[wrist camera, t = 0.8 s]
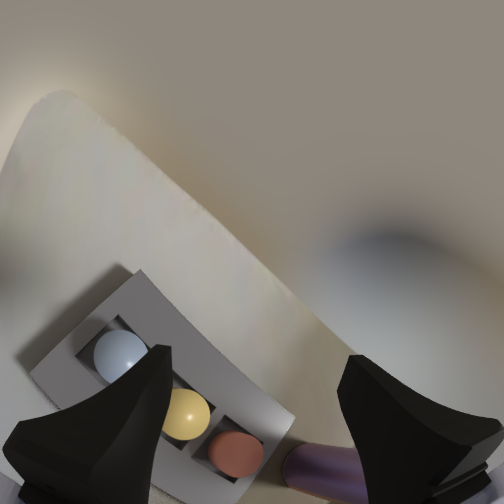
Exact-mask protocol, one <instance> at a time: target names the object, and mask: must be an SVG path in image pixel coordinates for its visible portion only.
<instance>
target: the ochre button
mask: <svg viewBox="0 0 504 504" xmlns="http://www.w3.org/2000/svg"><path fill="white" fill-rule="evenodd" d="M209 420H210V410H209V407H208V404H207V402H206V401H205V399H204V398H203V397H202V396H201V395H199V394H198V393H196V392H194V391H192V390H188V389H182V388H175V387H173V389H172V394H171V400H170V405H169V409H168V412H167V415H166V418H165V421H164V425H163V428H162V430H163V431H164V432H165V433H167V434H168V435H169V436H171V437H173V438H175V439H179V440H190V439H194V438H196V437H198V436H199V435H201V434H202V433H203V432H204V431H205V430H206V428H207V426H208V424H209Z"/></svg>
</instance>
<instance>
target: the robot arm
mask: <svg viewBox="0 0 504 504" xmlns="http://www.w3.org/2000/svg"><path fill="white" fill-rule="evenodd" d="M172 389H173V371H172V347H171V346H168V345H161V344H156V345H154V346H153V347H152V348H151V349H150V350H149V351H148V352H147V353H146V354H145V355H144V356H143V357H142V358H141V359H140V360H139V361H138V362H137V363H135V364H134V365H133V366H132V367H131V368H130V369H129V370H128V371H126V372H125V373H124V374H123V375H122V376H120V377H119V378H118V379H116V380H115V381H114V382H113V383H111V384H110V385H109V386H107V387H106V388H104V389H103V390H101V391H100V392H98V393H96V394H95V395H93V396H91V397H90V398H88V399H86V400H83V401H81V402H79V403H77V404H75V405H73V406H71V407H69V408H66V409H64V410H61V411H58V412H55V413H52V414H49V415H46V416H42V417H38V418H34V419H29V420H24V421H19V423H18V424H17V425H16V427H15V428H14V430H13V431H12V433H11V434H10V436H9V438H8V439H7V441H6V442H5V444H4V446H3V448H2V450H3V453H4V456H5V457H6V459H7V460H8V462H9V463H10V464H11V465H12V467H13V468H14V469H15V470H16V471H17V473H18V474H19V475H20V476H21V477H22V478H23V479H24V480H25V482H24V484H23V486H21V485H19V484H18V483H17V482H15V481H14V480H12V479H11V478H9V477H7V476H6V475H4V474H3V473H1V472H0V504H148V498H149V489H150V482H151V474H152V468H153V462H154V456H155V452H156V448H157V444H158V441H159V438H160V434H161V431H162V428H163V425H164V421H165V418H166V415H167V412H168V409H169V405H170V400H171V394H172ZM337 394H338V399H339V403H340V407H341V411H342V413H343V416H344V418H345V421H346V423H347V426H348V428H349V431H350V433H351V436H352V438H353V441H354V443H355V446H356V448H357V451H358V454H359V457H360V461H361V465H362V469H363V473H364V478H365V483H366V489H367V495H368V503H369V504H504V463H502V464H501V465H499V466H498V467H496V468H495V469H493V470H492V471H491V472H490V473H488V474H487V473H486V472H485V470H486V469H487V468H488V465H487V463H486V462H485V461H486V460H487V459H488V458H489V457H490V455H491V454H492V453H493V452H494V451H495V450H496V448H497V447H498V446H499V445H500V443H501V442H502V441H503V439H504V427H503V425H502V424H501V423H500V422H499V421H498V420H497V419H493V418H486V417H479V416H474V415H470V414H466V413H463V412H459V411H456V410H454V409H451V408H448V407H446V406H443V405H441V404H438V403H436V402H434V401H432V400H430V399H428V398H426V397H424V396H422V395H421V394H419V393H417V392H415V391H414V390H412V389H411V388H409V387H407V386H406V385H404V384H403V383H401V382H400V381H399V380H397V379H396V378H394V377H393V376H391V375H390V374H389V373H387V372H386V371H385V370H383V369H382V368H381V367H379V366H378V365H377V364H375V363H373V362H372V361H371V360H370V359H368V358H367V357H365V356H363V355H349V358H348V361H347V364H346V367H345V370H344V373H343V375H342V378H341V381H340V383H339V386H338V389H337Z"/></svg>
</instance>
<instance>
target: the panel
mask: <svg viewBox="0 0 504 504" xmlns="http://www.w3.org/2000/svg"><path fill="white" fill-rule="evenodd" d="M113 330H125V331H129V332H131V333H133V334H135V335H136V336H138V337H139V338H140V339H141V340H142V342H143V343H144V344H145V346H146V348H147V351H149V350H150V349H151V348H152V347H153V346H154V345H156V344H161V345H168V346H171V347H172V371H173V387H175V388H182V389H188V390H192V391H194V392H196V393H198V394H199V395H201V396H202V397H203V398H204V399H205V401H206V402H207V404H208V407H209V410H210V420H209V424H208V426H207V428H206V430H205V431H204V432H203V433H202V434H201V435H199V436H198V437H196V438H194V439H190V440H179V439H175V438H173V437H171V436H169V435H168V434H167V433H165V432H164V431H163V430H162V431H161V434H160V438H159V441H158V444H157V448H156V452H155V456H154V462H153V468H152V474H151V482H150V483H152V484H154V485H155V486H157V487H158V488H160V489H162V490H163V491H165V492H167V493H168V494H170V495H172V496H174V497H175V498H177V499H179V500H181V501H182V502H184V503H186V504H236V502H237V501H238V500H239V499H240V497H241V496H242V495H243V493H244V492H245V491H246V490H247V488H248V487H249V486H250V484H251V483H252V482H253V480H254V479H255V478H256V476H257V475H258V473H259V472H260V471H261V469H262V468H263V466H264V465H265V464H266V462H267V461H268V459H269V458H270V456H271V455H272V453H273V452H274V450H275V449H276V447H277V446H278V444H279V443H280V441H281V440H282V438H283V437H284V435H285V434H286V432H287V431H288V429H289V427H290V426H291V424H292V423H293V421H294V419H295V418H296V417H294V416H293V415H292V414H291V413H289V412H288V411H287V410H286V409H284V408H283V407H282V406H281V405H280V404H278V403H277V402H276V401H275V400H274V399H272V398H271V397H270V396H269V395H268V394H266V393H265V392H264V391H263V390H262V389H261V388H259V387H258V386H257V385H256V384H255V383H254V382H252V381H251V380H250V379H249V378H248V377H247V376H246V375H245V374H243V373H242V372H241V371H240V370H239V369H238V368H237V367H236V366H235V365H234V364H232V363H231V362H230V361H229V360H228V359H227V358H226V357H225V356H224V355H223V354H222V353H221V352H220V351H219V350H217V349H216V348H215V347H214V346H213V345H212V344H211V343H210V342H209V341H208V340H207V339H206V338H205V337H204V336H203V335H202V334H201V333H200V332H199V331H198V330H197V329H196V328H195V327H194V326H193V325H192V324H191V323H190V322H189V321H188V320H187V319H186V318H185V317H184V316H183V315H182V314H181V313H180V312H179V311H178V310H177V309H176V308H175V307H174V305H173V304H172V303H171V302H170V301H169V300H168V299H167V298H166V297H165V296H164V295H163V294H162V293H161V292H160V290H159V289H158V288H157V287H156V286H155V285H154V284H153V283H152V282H151V281H150V279H149V278H148V277H147V276H146V275H145V274H144V273H143V272H142V270H141V269H140V270H139V271H137V272H136V273H135V274H134V275H133V276H132V277H131V278H129V279H128V280H127V281H126V282H125V283H124V284H122V285H121V286H120V287H119V288H118V289H117V290H116V291H115V292H113V293H112V294H111V295H110V296H109V297H108V298H107V299H106V300H104V301H103V302H102V303H101V304H100V305H99V306H98V307H97V308H96V309H95V310H93V311H92V312H91V313H90V314H89V315H88V316H87V317H86V318H85V319H84V320H83V321H82V322H81V323H79V324H78V325H77V326H76V327H75V328H74V329H73V330H72V331H71V332H70V333H69V334H68V335H67V336H66V337H65V338H64V339H63V340H62V341H61V342H60V343H59V344H58V345H57V346H56V347H55V348H53V349H52V350H51V351H50V352H49V353H48V354H47V355H46V356H45V357H44V358H43V359H42V360H41V361H40V363H39V364H38V365H37V366H36V367H35V368H34V369H33V370H32V371H31V372H30V373H29V375H30V376H31V377H32V378H33V379H34V381H35V382H36V383H37V384H38V385H39V386H40V388H41V389H42V390H43V391H44V392H45V393H46V394H47V395H48V397H49V398H50V399H51V400H52V401H53V402H54V403H55V404H56V405H57V406H58V407H59V408H60V409H61V410H64V409H66V408H69V407H71V406H73V405H75V404H77V403H79V402H81V401H83V400H86V399H88V398H90V397H91V396H93V395H95V394H96V393H98V392H100V391H101V390H103V389H104V388H106V387H107V386H109V385H110V384H111V383H109V382H108V381H106V380H105V379H104V378H103V377H102V376H101V375H100V373H99V372H98V370H97V368H96V366H95V363H94V350H95V346H96V344H97V342H98V340H99V339H100V338H101V337H102V336H103V335H104V334H106V333H108V332H110V331H113ZM227 430H234V431H238V432H241V433H244V434H248V435H251V436H253V437H255V438H256V439H258V440H259V442H260V443H261V445H262V447H263V460H262V463H261V465H260V466H259V468H258V469H257V470H256V471H255V472H254V473H252V474H251V475H249V476H246V477H241V478H236V477H232V476H229V475H227V474H226V473H224V472H222V471H221V470H219V469H218V468H216V467H215V466H213V465H212V463H211V462H210V460H209V458H208V447H209V444H210V442H211V440H212V439H213V438H214V437H215V436H216V435H217V434H219V433H221V432H223V431H227Z"/></svg>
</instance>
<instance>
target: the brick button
mask: <svg viewBox="0 0 504 504" xmlns="http://www.w3.org/2000/svg"><path fill="white" fill-rule="evenodd" d="M208 458H209V460H210V462H211V463H212V465H213V466H215V467H216V468H218V469H219V470H221V471H222V472H224V473H226V474H227V475H229V476H232V477H236V478H241V477H246V476H249V475H251V474H252V473H254V472H255V471H256V470H257V469H258V468H259V466H260V465H261V463H262V460H263V447H262V445H261V443H260V442H259V440H258V439H256V438H255V437H253V436H251V435H248V434H244V433H241V432H238V431H234V430H227V431H223V432H221V433H219V434H217V435H216V436H215V437H214V438H213V439H212V440H211V442H210V444H209V447H208Z"/></svg>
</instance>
